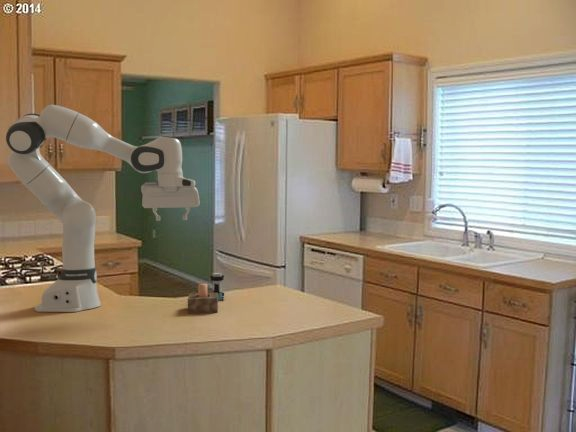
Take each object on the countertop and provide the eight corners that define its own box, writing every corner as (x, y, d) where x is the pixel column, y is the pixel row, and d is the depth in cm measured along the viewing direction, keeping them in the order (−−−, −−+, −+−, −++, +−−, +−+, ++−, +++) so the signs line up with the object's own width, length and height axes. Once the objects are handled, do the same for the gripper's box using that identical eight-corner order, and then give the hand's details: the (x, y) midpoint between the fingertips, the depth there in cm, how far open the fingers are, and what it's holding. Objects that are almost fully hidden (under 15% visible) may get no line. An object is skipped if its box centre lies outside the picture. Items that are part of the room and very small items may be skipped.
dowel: (198, 310, 218) (197, 285, 217) (198, 308, 221) (198, 283, 221) (207, 310, 218) (207, 285, 218) (208, 308, 221) (207, 283, 221)
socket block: (187, 313, 214) (187, 299, 214) (190, 307, 224) (189, 293, 224) (217, 312, 215) (217, 298, 215) (218, 306, 225) (217, 292, 225)
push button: (230, 299, 237) (229, 273, 237) (221, 301, 233) (220, 275, 232) (216, 297, 241) (216, 271, 240) (207, 300, 236) (206, 273, 236)
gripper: (139, 182, 219) (140, 221, 220) (198, 181, 221) (199, 220, 222) (142, 182, 226) (143, 220, 227) (199, 181, 227) (200, 219, 228)
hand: (171, 220), depth 224 cm, fingers open, 8 cm apart
